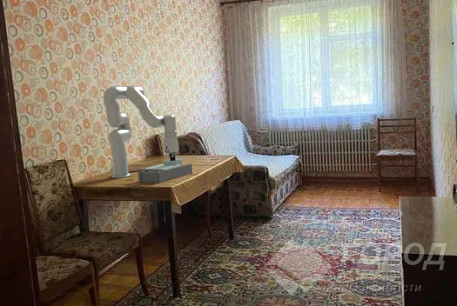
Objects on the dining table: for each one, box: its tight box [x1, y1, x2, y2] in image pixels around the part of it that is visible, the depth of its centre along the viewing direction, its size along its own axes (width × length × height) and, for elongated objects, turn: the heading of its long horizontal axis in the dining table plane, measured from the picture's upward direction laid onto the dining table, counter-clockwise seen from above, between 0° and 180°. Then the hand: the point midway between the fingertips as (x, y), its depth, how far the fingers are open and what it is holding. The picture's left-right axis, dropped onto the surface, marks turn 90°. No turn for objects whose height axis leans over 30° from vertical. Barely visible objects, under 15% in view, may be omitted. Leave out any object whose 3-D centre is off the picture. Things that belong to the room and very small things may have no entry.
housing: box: [137, 163, 193, 184], centre depth 273 cm, size 16×34×9 cm, turn 149°
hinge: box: [166, 156, 183, 166], centre depth 305 cm, size 17×5×10 cm, turn 150°
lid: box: [144, 160, 183, 171], centre depth 271 cm, size 16×16×3 cm
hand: (173, 163), depth 279 cm, fingers closed
